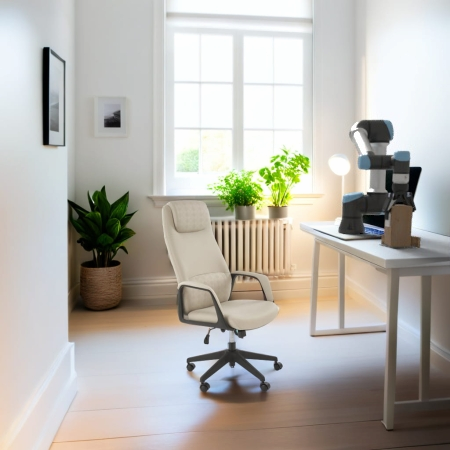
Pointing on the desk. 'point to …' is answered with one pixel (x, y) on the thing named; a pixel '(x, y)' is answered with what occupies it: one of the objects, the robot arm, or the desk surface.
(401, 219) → the wooden block
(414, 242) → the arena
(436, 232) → the desk surface
